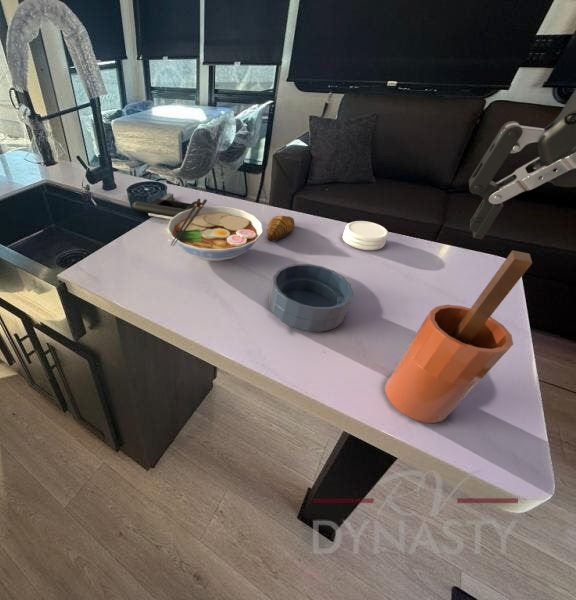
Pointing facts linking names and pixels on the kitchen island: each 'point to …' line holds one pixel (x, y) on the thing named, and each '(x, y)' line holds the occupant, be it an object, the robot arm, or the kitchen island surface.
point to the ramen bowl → (214, 231)
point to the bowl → (310, 297)
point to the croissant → (279, 227)
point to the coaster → (365, 235)
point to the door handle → (163, 207)
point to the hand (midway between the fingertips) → (529, 245)
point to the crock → (444, 365)
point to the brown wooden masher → (492, 296)
